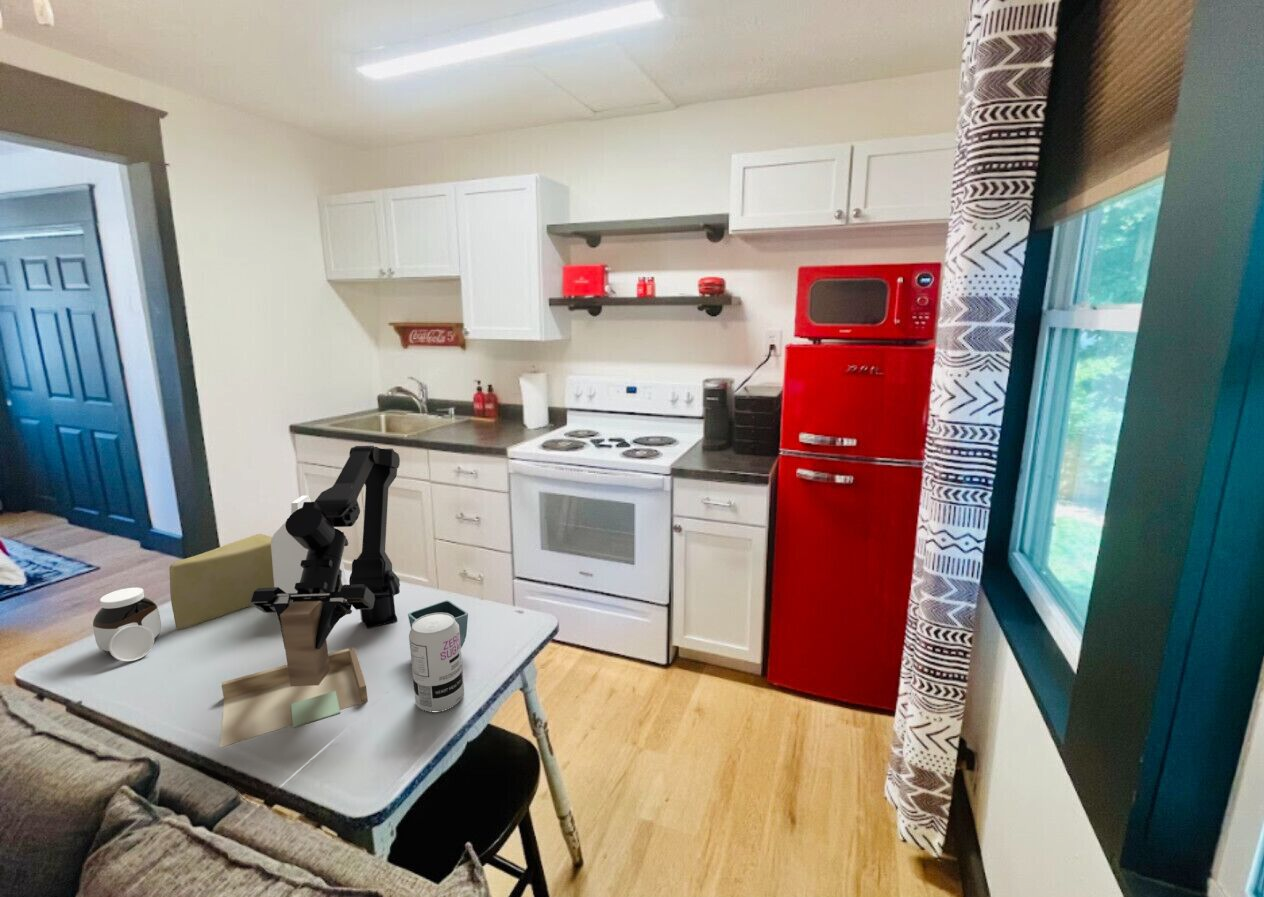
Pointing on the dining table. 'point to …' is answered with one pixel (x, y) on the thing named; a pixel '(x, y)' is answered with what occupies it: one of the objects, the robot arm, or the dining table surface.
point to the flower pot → (444, 607)
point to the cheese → (220, 580)
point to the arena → (289, 698)
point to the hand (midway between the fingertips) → (302, 649)
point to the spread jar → (126, 624)
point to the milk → (291, 555)
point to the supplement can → (436, 661)
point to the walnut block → (304, 644)
